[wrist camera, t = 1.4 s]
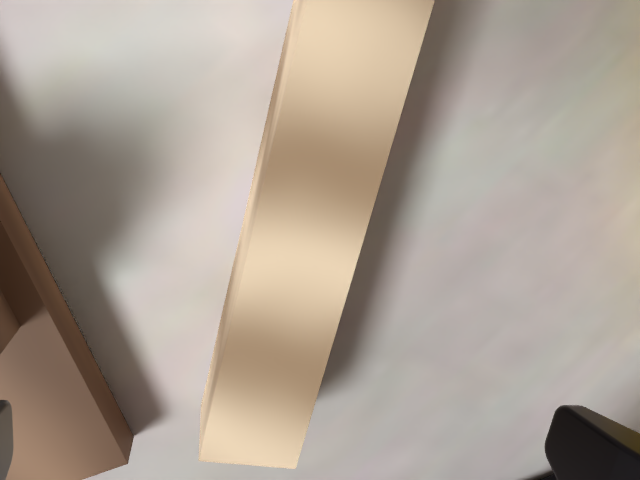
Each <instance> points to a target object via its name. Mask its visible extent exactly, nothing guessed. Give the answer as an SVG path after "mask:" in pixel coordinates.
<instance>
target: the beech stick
mask: <svg viewBox="0 0 640 480" xmlns="http://www.w3.org/2000/svg"><path fill="white" fill-rule="evenodd" d="M434 2H435V0H294V1H293V5H292V9H291V14H290V18H289V23H288V27H287V31H286V36H285V40H284V44H283V49H282V53H281V58H280V62H279V66H278V71H277V75H276V80H275V84H274V88H273V93H272V97H271V101H270V106H269V110H268V115H267V119H266V123H265V128H264V132H263V136H262V141H261V145H260V150H259V154H258V158H257V163H256V167H255V172H254V176H253V180H252V185H251V189H250V193H249V198H248V202H247V207H246V211H245V215H244V220H243V224H242V228H241V233H240V237H239V242H238V246H237V250H236V255H235V259H234V263H233V268H232V272H231V277H230V281H229V285H228V290H227V294H226V299H225V303H224V307H223V312H222V316H221V320H220V325H219V329H218V334H217V338H216V342H215V347H214V351H213V355H212V360H211V364H210V369H209V373H208V377H207V382H206V386H205V390H204V395H203V399H202V404H201V420H200V442H199V461H205V462H217V463H229V464H242V465H254V466H266V467H278V468H290V469H296V466H297V462H298V459H299V456H300V452H301V449H302V446H303V442H304V439H305V436H306V432H307V429H308V425H309V422H310V419H311V415H312V412H313V409H314V405H315V402H316V399H317V395H318V392H319V388H320V385H321V382H322V378H323V375H324V372H325V368H326V365H327V362H328V358H329V355H330V351H331V348H332V345H333V341H334V338H335V335H336V331H337V328H338V325H339V321H340V318H341V314H342V311H343V308H344V304H345V301H346V298H347V294H348V291H349V288H350V284H351V281H352V277H353V274H354V271H355V267H356V264H357V261H358V257H359V254H360V251H361V247H362V244H363V240H364V237H365V234H366V230H367V227H368V224H369V220H370V217H371V214H372V210H373V207H374V203H375V200H376V197H377V193H378V190H379V187H380V183H381V180H382V177H383V173H384V170H385V166H386V163H387V160H388V156H389V153H390V150H391V146H392V143H393V140H394V136H395V133H396V129H397V126H398V123H399V119H400V116H401V113H402V109H403V106H404V103H405V99H406V96H407V92H408V89H409V86H410V82H411V79H412V76H413V72H414V69H415V66H416V62H417V59H418V55H419V52H420V49H421V45H422V42H423V39H424V35H425V32H426V29H427V25H428V22H429V18H430V15H431V12H432V8H433V5H434Z"/></svg>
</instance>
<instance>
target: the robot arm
mask: <svg viewBox="0 0 640 480" xmlns="http://www.w3.org/2000/svg"><path fill="white" fill-rule="evenodd" d="M13 446H14V445H13V420H12V407H11V404H10V402H9V401H7V400H0V480H6V477H7V474H8V471H9V468H10V465H11V461H12V457H13ZM545 453H546V457H547V459H548V461H549V463H550V466H551V468H552V470H553V472H554V475H552V476H549V477H546V478H544V479H541V480H640V434H639V433H637V432H635V431H633V430H631V429H629V428H627V427H625V426H623V425H621V424H619V423H617V422H615V421H613V420H611V419H608V418H606V417H604V416H602V415H600V414H598V413H596V412H594V411H592V410H590V409H588V408H586V407H583V406H579V405H563V406H560V407H558V408H557V410H556V411H555V413H554V416H553V419H552V422H551V426H550V429H549V432H548V435H547V438H546V441H545Z"/></svg>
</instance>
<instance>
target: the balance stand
mask: <svg viewBox="0 0 640 480" xmlns="http://www.w3.org/2000/svg"><path fill="white" fill-rule="evenodd" d="M0 400H7V401H9V402H10V404H11V407H12V420H13V445H14V446H13V457H12V461H11V465H10V468H9V471H8V474H7V477H6V480H82V479H85V478H88V477H91V476H94V475H97V474H100V473H102V472H105V471H108V470H111V469H114V468H117V467H120V466H123V465H126V464H128V460H129V456H130V451H131V447H132V442H133V438H134V437H133V435H132V433H131V431H130V429H129V427H128V425H127V423H126V421H125V419H124V417H123V415H122V413H121V411H120V409H119V407H118V405H117V403H116V401H115V399H114V397H113V395H112V393H111V391H110V389H109V387H108V385H107V383H106V381H105V379H104V377H103V375H102V373H101V371H100V369H99V367H98V365H97V363H96V362H95V360H94V358H93V356H92V354H91V352H90V350H89V348H88V346H87V344H86V342H85V340H84V338H83V336H82V334H81V332H80V330H79V328H78V326H77V324H76V322H75V320H74V318H73V316H72V314H71V312H70V310H69V308H68V306H67V304H66V302H65V300H64V298H63V296H62V294H61V292H60V290H59V288H58V286H57V284H56V283H55V281H54V279H53V277H52V275H51V273H50V271H49V269H48V267H47V265H46V263H45V261H44V259H43V257H42V255H41V253H40V251H39V249H38V247H37V245H36V243H35V241H34V239H33V237H32V235H31V233H30V231H29V229H28V227H27V225H26V223H25V221H24V219H23V217H22V215H21V213H20V211H19V209H18V207H17V205H16V204H15V202H14V200H13V198H12V196H11V194H10V192H9V190H8V188H7V186H6V184H5V182H4V180H3V178H2V176H1V174H0Z"/></svg>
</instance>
